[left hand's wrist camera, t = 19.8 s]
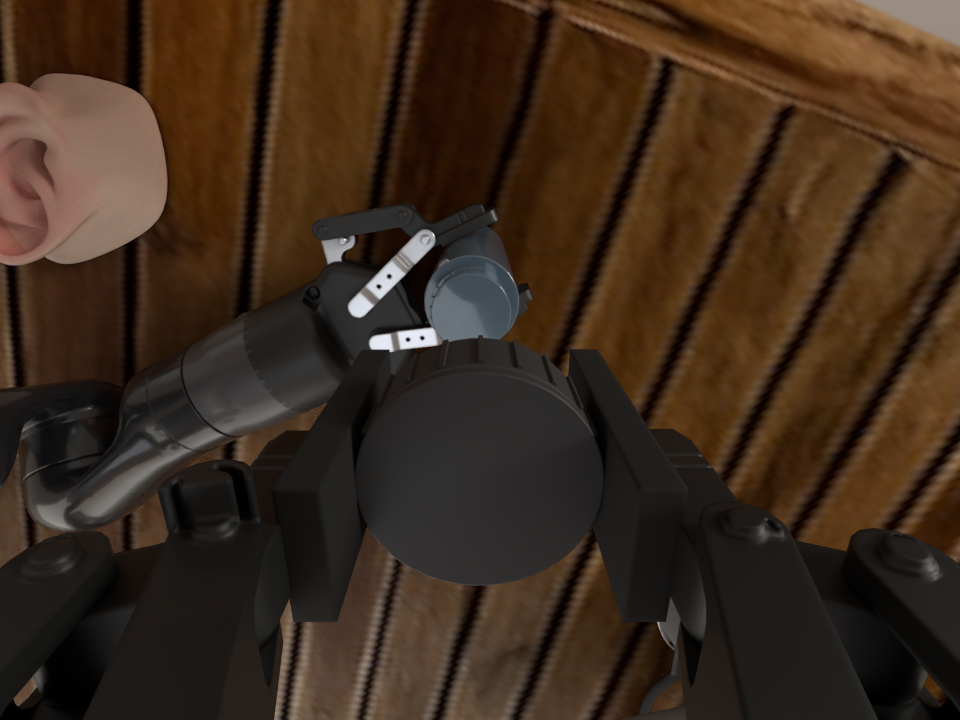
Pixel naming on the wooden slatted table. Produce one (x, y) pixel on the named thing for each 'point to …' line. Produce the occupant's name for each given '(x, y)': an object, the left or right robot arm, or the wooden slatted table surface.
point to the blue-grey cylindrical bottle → (472, 289)
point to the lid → (479, 463)
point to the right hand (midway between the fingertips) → (512, 252)
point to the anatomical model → (76, 169)
